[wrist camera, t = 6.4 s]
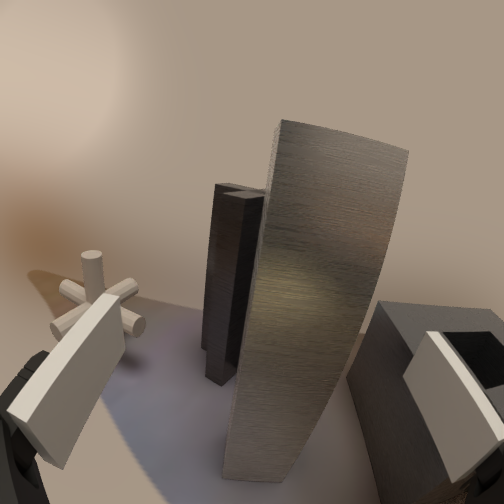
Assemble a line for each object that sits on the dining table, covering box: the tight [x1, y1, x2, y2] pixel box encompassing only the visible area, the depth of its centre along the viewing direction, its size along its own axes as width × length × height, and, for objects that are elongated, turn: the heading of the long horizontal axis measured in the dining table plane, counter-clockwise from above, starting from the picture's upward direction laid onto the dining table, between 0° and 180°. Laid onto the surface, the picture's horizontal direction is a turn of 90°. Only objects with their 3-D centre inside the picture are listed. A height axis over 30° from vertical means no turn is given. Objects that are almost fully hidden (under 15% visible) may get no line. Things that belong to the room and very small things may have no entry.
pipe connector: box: [50, 250, 146, 342], centre depth 22 cm, size 10×10×10 cm
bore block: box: [346, 301, 504, 504], centre depth 16 cm, size 16×16×9 cm
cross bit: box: [201, 183, 266, 386], centre depth 23 cm, size 8×8×16 cm
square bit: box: [222, 119, 409, 482], centre depth 13 cm, size 4×4×20 cm
